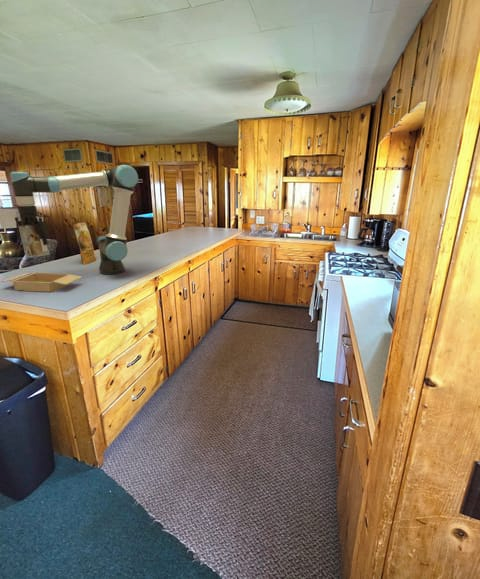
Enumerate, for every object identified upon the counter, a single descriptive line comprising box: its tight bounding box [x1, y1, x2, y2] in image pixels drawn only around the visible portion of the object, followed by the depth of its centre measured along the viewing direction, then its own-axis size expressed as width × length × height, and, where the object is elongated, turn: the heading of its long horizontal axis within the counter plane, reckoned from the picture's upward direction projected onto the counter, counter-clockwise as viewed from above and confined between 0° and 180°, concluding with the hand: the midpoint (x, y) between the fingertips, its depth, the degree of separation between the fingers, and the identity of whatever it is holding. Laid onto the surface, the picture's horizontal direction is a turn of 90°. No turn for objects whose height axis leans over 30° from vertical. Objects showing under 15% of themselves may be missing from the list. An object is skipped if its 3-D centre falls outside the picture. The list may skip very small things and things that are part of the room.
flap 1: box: [0, 272, 33, 283], centre depth 159 cm, size 1×14×7 cm
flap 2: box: [53, 273, 83, 286], centre depth 157 cm, size 1×14×7 cm
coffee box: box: [18, 224, 51, 259], centre depth 150 cm, size 9×6×16 cm
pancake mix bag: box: [72, 221, 97, 265], centre depth 209 cm, size 7×19×28 cm, turn 176°
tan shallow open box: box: [12, 272, 71, 293], centre depth 159 cm, size 21×16×5 cm
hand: (36, 250), depth 152 cm, fingers closed on coffee box, 8 cm apart
